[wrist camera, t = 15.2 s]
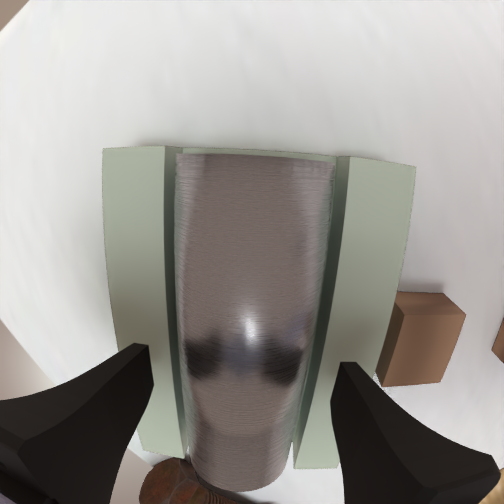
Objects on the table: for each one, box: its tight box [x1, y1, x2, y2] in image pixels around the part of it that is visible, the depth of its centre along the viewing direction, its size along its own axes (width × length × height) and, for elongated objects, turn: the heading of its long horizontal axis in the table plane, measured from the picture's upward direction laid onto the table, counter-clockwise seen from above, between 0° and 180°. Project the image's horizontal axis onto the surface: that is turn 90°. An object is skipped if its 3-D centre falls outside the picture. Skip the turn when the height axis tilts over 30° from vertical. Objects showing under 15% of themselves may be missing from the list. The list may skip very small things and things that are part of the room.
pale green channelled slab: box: [102, 146, 416, 469], centre depth 14 cm, size 11×16×3 cm
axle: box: [174, 153, 335, 492], centre depth 12 cm, size 14×5×5 cm, turn 177°
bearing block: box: [375, 292, 504, 387], centre depth 13 cm, size 13×4×2 cm, turn 87°
